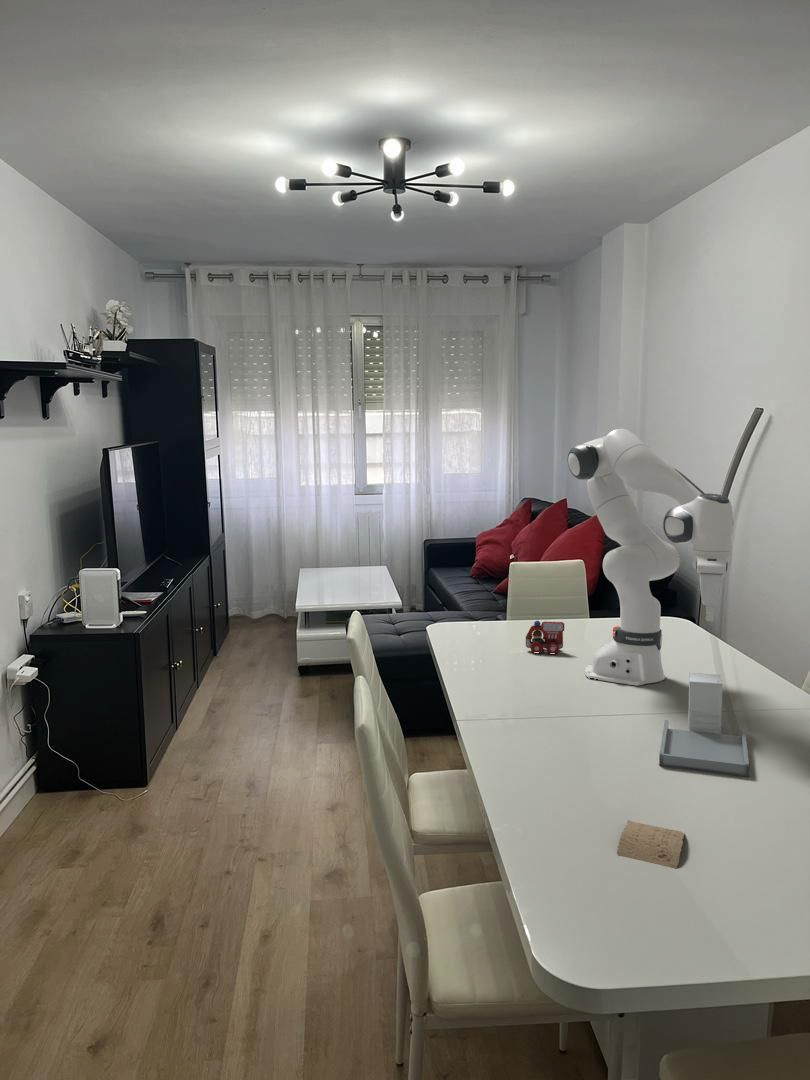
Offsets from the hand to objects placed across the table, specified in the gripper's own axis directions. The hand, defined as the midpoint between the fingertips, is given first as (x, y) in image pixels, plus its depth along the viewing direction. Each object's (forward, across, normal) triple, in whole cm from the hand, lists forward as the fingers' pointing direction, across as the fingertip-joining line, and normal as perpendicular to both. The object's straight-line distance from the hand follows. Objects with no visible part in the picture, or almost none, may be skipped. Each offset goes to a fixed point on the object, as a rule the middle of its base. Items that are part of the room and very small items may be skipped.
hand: (710, 616), depth 195 cm
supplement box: (+26, +9, 0) cm, 27 cm away
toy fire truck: (+26, -46, -50) cm, 73 cm away
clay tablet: (+27, +69, -8) cm, 74 cm away
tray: (+26, +24, 0) cm, 35 cm away
